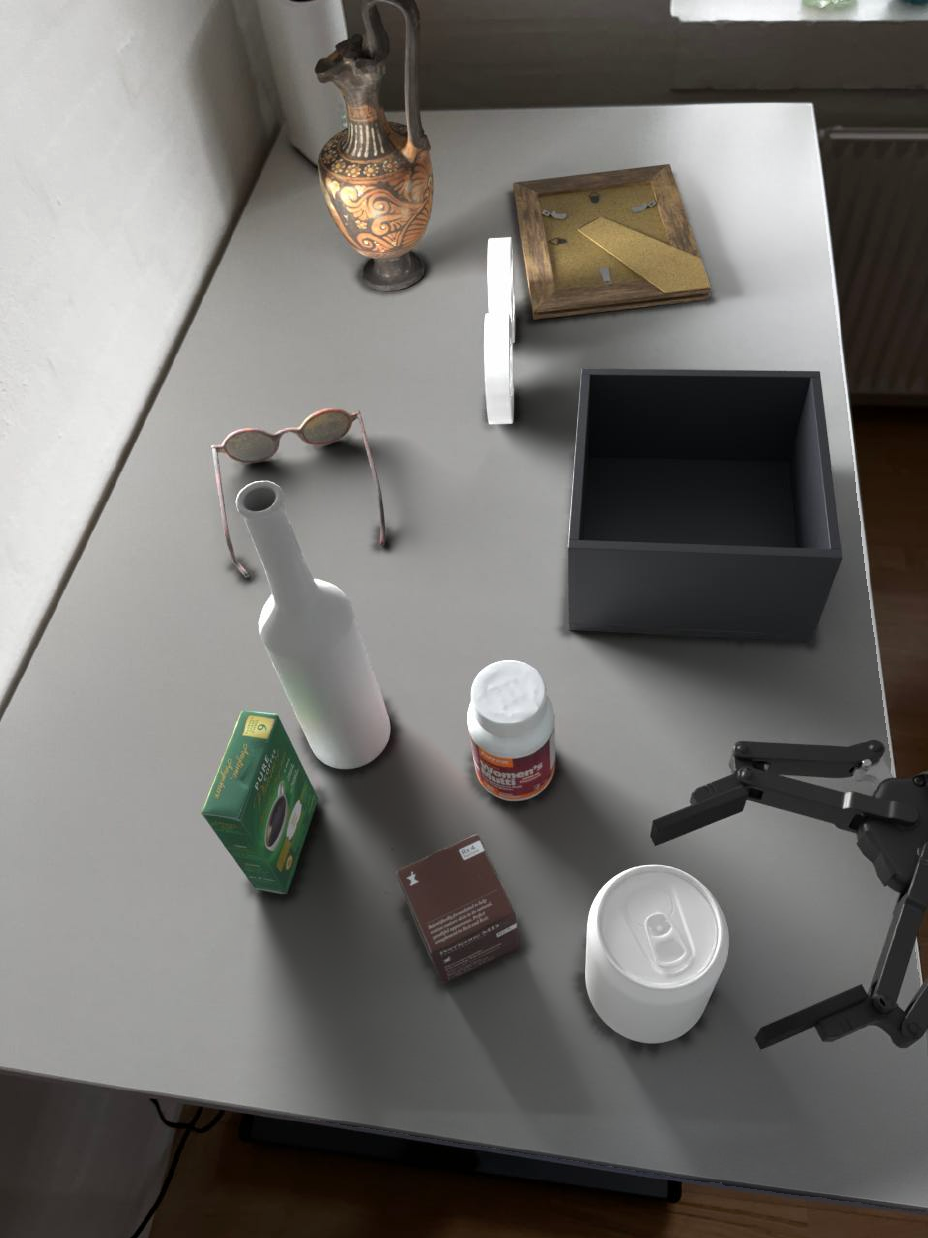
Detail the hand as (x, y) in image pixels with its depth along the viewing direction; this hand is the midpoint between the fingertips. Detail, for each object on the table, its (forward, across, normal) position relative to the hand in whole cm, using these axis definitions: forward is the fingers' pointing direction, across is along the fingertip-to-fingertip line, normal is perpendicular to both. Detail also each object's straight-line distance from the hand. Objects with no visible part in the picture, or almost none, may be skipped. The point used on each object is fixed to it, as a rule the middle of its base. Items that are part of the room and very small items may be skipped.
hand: (703, 930), depth 61 cm
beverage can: (+4, 0, -7) cm, 8 cm away
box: (+14, +8, -7) cm, 17 cm away
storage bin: (-16, +32, -6) cm, 37 cm away
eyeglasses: (+14, +51, -7) cm, 53 cm away
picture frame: (-28, +74, -7) cm, 80 cm away
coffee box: (+24, +19, -7) cm, 31 cm away
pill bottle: (+6, +18, -7) cm, 20 cm away
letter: (-10, +60, -7) cm, 61 cm away
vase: (-5, +80, -7) cm, 80 cm away
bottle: (+17, +26, -7) cm, 31 cm away
